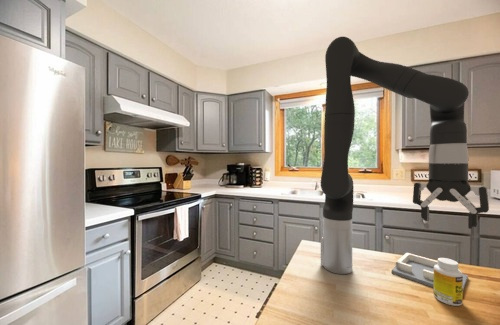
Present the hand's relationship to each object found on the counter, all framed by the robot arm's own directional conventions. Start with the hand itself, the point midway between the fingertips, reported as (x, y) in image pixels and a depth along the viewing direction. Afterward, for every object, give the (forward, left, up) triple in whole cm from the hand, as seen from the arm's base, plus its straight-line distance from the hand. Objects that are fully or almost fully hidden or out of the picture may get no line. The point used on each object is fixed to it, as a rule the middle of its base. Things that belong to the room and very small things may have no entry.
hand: (447, 224), depth 56 cm
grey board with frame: (-6, +11, -20) cm, 23 cm away
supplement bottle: (0, 0, -20) cm, 20 cm away
